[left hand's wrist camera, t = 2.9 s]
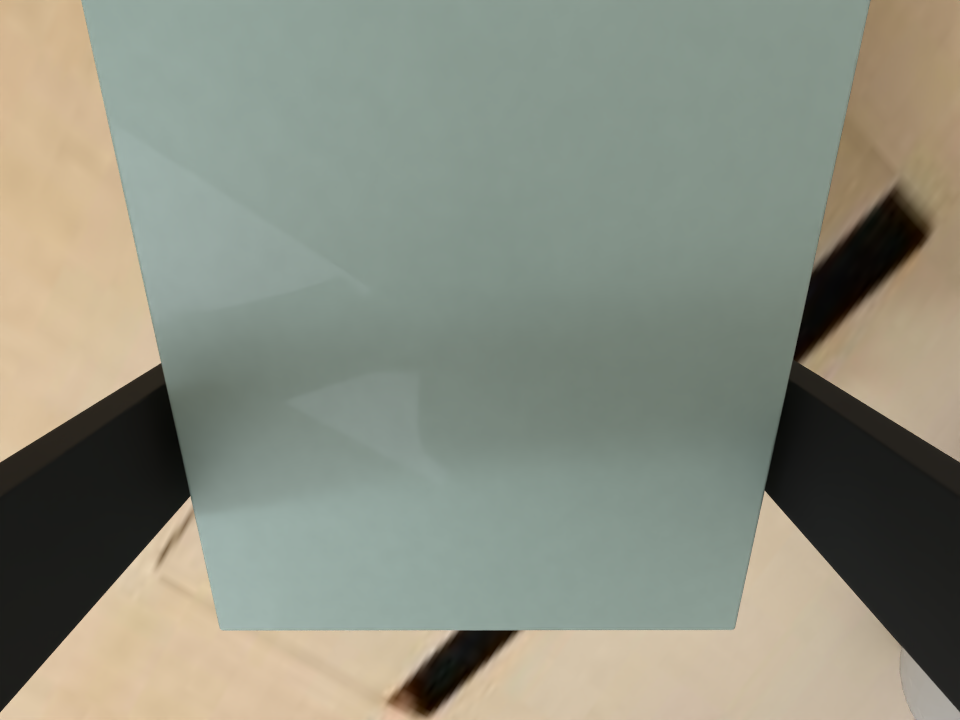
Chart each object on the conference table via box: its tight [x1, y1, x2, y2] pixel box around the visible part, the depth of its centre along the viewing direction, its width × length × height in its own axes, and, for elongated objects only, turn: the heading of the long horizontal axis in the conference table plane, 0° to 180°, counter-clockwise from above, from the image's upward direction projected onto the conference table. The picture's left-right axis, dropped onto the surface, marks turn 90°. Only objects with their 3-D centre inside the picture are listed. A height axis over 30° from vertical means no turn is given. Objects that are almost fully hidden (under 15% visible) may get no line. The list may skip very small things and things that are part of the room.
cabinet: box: [81, 0, 870, 630], centre depth 13 cm, size 20×12×10 cm, turn 0°
